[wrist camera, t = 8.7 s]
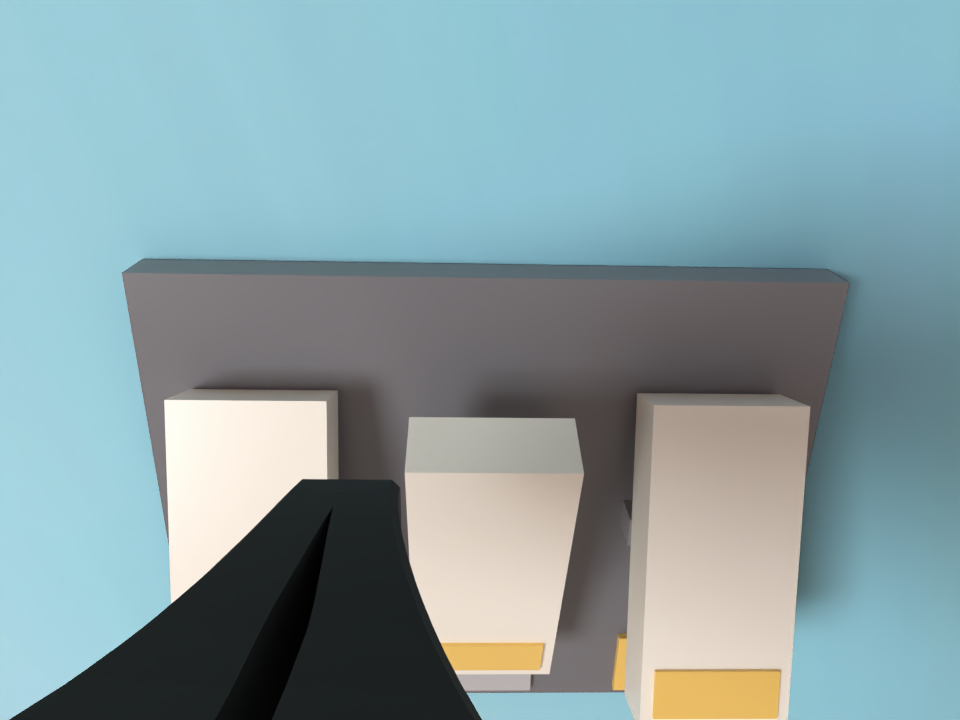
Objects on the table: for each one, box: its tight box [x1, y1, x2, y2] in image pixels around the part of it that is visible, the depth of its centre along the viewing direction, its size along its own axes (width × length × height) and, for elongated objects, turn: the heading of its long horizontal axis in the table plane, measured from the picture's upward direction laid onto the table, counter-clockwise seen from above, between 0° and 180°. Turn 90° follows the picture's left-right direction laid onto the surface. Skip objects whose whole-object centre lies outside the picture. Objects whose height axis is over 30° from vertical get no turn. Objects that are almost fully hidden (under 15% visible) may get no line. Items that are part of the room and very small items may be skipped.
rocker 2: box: [405, 417, 584, 674], centre depth 18 cm, size 4×8×2 cm, turn 179°
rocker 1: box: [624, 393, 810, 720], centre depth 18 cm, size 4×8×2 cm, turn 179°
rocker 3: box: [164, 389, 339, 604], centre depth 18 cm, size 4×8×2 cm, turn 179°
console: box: [122, 259, 849, 693], centre depth 20 cm, size 17×13×2 cm
